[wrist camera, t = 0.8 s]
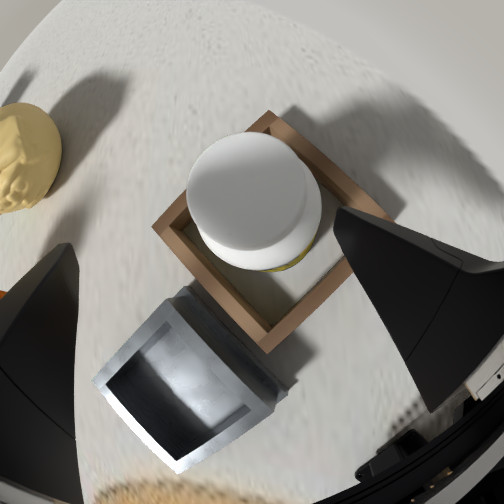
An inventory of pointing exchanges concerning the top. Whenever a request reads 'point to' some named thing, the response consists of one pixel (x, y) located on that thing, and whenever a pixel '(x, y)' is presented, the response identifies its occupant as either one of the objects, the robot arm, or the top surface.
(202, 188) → the pill bottle
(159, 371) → the dark metal seat block
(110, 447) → the top surface
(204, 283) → the walnut collar
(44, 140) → the sculpture
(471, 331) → the robot arm
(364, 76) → the top surface
